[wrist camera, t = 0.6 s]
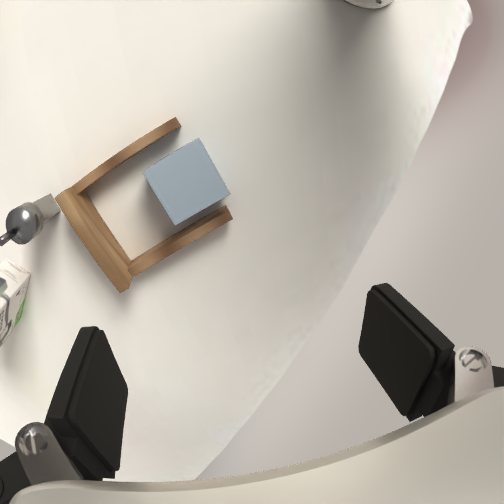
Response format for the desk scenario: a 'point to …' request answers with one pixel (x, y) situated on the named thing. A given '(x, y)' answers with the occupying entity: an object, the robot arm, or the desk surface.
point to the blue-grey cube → (186, 181)
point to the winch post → (29, 220)
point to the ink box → (11, 296)
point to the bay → (100, 236)
